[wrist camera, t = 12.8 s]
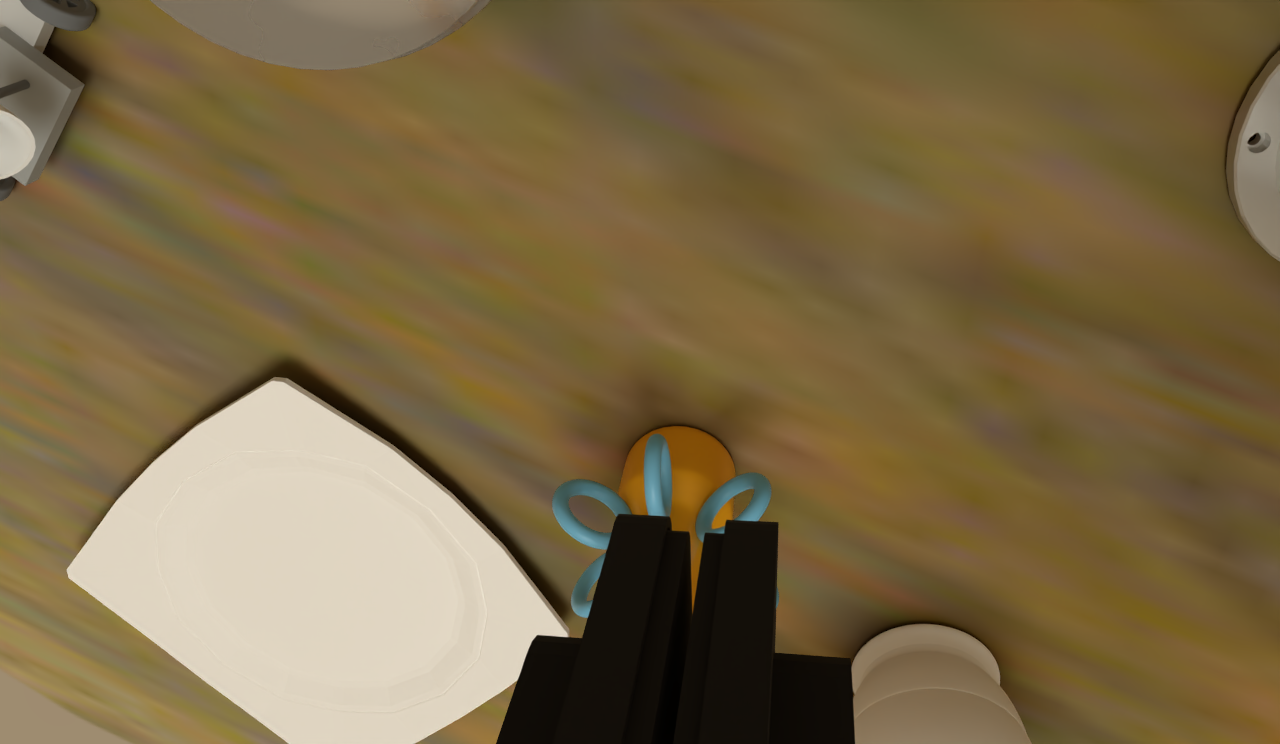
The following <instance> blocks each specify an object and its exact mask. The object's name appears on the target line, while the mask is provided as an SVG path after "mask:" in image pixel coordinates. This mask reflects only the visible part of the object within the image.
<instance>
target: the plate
mask: <svg viewBox="0 0 1280 744" xmlns="http://www.w3.org/2000/svg"><path fill="white" fill-rule="evenodd" d="M67 573H68V577H69V579H71V580H72V581H73V582H75V583H76V584H77V585H79V586H80V587H81V588H83V589H84V590H85V591H87V592H88V593H89V594H91V595H92V596H93V597H95V598H96V599H97V600H99V601H100V602H101V603H103V604H104V605H105V606H107V607H108V608H109V609H111V610H112V611H113V612H115V613H116V614H117V615H119V616H120V617H121V618H123V619H124V620H125V621H127V622H128V623H129V624H131V625H132V626H133V627H135V628H136V629H137V630H139V631H140V632H141V633H143V634H144V635H145V636H147V637H148V638H149V639H151V640H152V641H153V642H155V643H156V644H157V645H158V646H160V647H161V648H162V649H164V650H165V651H166V652H168V653H169V654H170V655H171V656H173V657H174V658H175V659H177V660H178V661H179V662H181V663H182V664H183V665H184V666H186V667H187V668H188V669H190V670H191V671H192V672H194V673H195V674H196V675H197V676H199V677H200V678H201V679H203V680H204V681H205V682H207V683H208V684H209V685H211V686H212V687H213V688H215V689H216V690H218V691H219V692H220V693H222V694H223V695H224V696H226V697H227V698H228V699H230V700H231V701H232V702H234V703H235V704H237V705H238V706H239V707H241V708H242V709H243V710H245V711H246V712H247V713H249V714H250V715H251V716H253V717H254V718H256V719H257V720H258V721H260V722H261V723H262V724H264V725H265V726H266V727H268V728H269V729H270V730H271V731H273V732H274V733H275V734H277V735H278V736H279V737H281V738H282V739H283V740H285V741H286V742H287V743H289V744H414V743H416V742H418V741H420V740H422V739H424V738H426V737H427V736H429V735H431V734H433V733H434V732H436V731H438V730H440V729H441V728H443V727H445V726H447V725H449V724H450V723H452V722H454V721H456V720H457V719H459V718H461V717H463V716H464V715H466V714H467V713H469V712H471V711H472V710H474V709H475V708H477V707H478V706H480V705H481V704H483V703H484V702H486V701H488V700H489V699H491V698H492V697H494V696H495V695H497V694H498V693H500V692H502V691H503V690H505V689H506V688H507V687H509V686H510V685H511V684H513V683H514V682H515V681H517V680H518V678H519V675H520V672H521V669H522V666H523V663H524V660H525V657H526V654H527V652H528V649H529V647H530V645H531V642H532V640H533V639H534V638H535V637H536V636H537V635H545V636H558V637H569V628H568V627H567V626H566V624H565V623H564V622H563V620H562V619H561V618H560V617H559V615H558V614H557V613H556V611H555V610H554V609H553V607H552V606H551V605H550V604H549V602H548V601H547V600H546V598H545V597H544V596H543V595H542V593H541V592H540V591H539V589H538V588H537V587H536V586H535V584H534V583H533V582H532V580H531V579H530V578H529V577H528V575H527V574H526V573H525V571H524V570H523V569H522V567H521V566H520V565H519V564H518V562H517V561H516V560H515V558H514V557H513V556H512V555H511V553H510V552H509V551H508V549H507V548H506V547H505V546H504V544H503V543H502V542H501V541H500V540H499V539H498V538H497V537H496V536H495V535H494V534H493V533H492V532H491V531H490V530H489V529H488V528H487V527H486V526H485V525H484V524H483V523H482V522H481V521H480V520H479V519H477V518H476V517H475V516H474V515H473V514H472V513H471V512H470V511H469V510H468V509H467V508H466V507H465V506H464V505H463V504H462V503H461V502H460V501H459V500H458V499H457V498H456V497H455V496H454V495H453V494H452V493H451V492H450V491H449V490H447V489H446V488H445V487H444V486H443V485H441V484H440V483H439V482H438V481H436V480H435V479H434V478H433V477H432V476H430V475H429V474H428V473H427V472H425V471H424V470H423V469H422V468H421V467H419V466H418V465H417V464H416V463H414V462H413V461H412V460H411V459H410V458H408V457H407V456H406V455H405V454H403V453H402V452H401V451H400V450H399V449H397V448H396V447H395V446H394V445H392V444H391V443H389V442H387V441H386V440H384V439H383V438H381V437H379V436H378V435H376V434H375V433H373V432H372V431H370V430H368V429H367V428H365V427H364V426H362V425H360V424H359V423H357V422H356V421H354V420H353V419H351V418H349V417H348V416H346V415H345V414H343V413H341V412H340V411H338V410H337V409H335V408H334V407H332V406H330V405H329V404H327V403H326V402H324V401H322V400H321V399H319V398H318V397H316V396H315V395H313V394H311V393H310V392H308V391H307V390H305V389H303V388H302V387H300V386H299V385H297V384H296V383H294V382H292V381H291V380H289V379H288V378H280V377H274V378H272V379H270V380H269V381H267V382H265V383H264V384H262V385H261V386H259V387H257V388H256V389H254V390H252V391H251V392H249V393H247V394H246V395H244V396H242V397H241V398H239V399H238V400H236V401H234V402H233V403H231V404H229V405H228V406H226V407H224V408H223V409H221V410H220V411H218V412H216V413H215V414H213V415H211V416H210V417H208V418H206V419H205V420H203V421H201V422H200V423H198V424H197V425H196V426H194V427H193V428H192V429H191V430H190V431H188V432H187V433H186V434H185V435H184V436H182V437H181V438H180V439H179V440H178V441H177V442H175V443H174V444H173V445H172V446H171V447H169V448H168V449H167V450H166V451H165V452H164V453H162V454H161V455H160V456H159V457H158V458H156V459H155V460H154V461H153V462H152V463H151V465H150V466H149V467H148V468H147V469H146V470H145V471H144V472H143V473H142V474H141V475H140V476H139V477H138V478H137V479H136V480H135V481H134V482H133V483H132V485H131V486H130V487H129V488H128V489H127V490H126V491H125V492H124V493H123V494H122V495H121V496H120V497H119V498H118V500H117V501H116V502H115V504H114V505H113V506H112V508H111V509H110V511H109V512H108V513H107V515H106V516H105V517H104V519H103V520H102V522H101V523H100V524H99V526H98V527H97V529H96V530H95V531H94V533H93V534H92V535H91V537H90V538H89V540H88V541H87V542H86V544H85V545H84V547H83V548H82V549H81V551H80V552H79V553H78V555H77V556H76V558H75V559H74V560H73V562H72V563H71V565H70V566H69V567H68V569H67Z"/></svg>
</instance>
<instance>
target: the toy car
mask: <svg viewBox="0 0 1280 744" xmlns="http://www.w3.org/2000/svg"><path fill="white" fill-rule="evenodd" d="M95 14H96V8H95V5H94V4H93V3H92V2H91V1H90V0H0V201H2V200H4V199H6V198H7V197H8V196H9V195H10V193H11V191H12V189H13V187H14V185H15V179H16V180H18V181H19V182H20V183H22V184H23V185H25V186H26V185H28V184H30V183H32V182H34V181H36V180H38V179H39V177H40V175H41V173H42V171H43V169H44V167H45V165H46V163H47V161H48V159H49V157H50V155H51V153H52V151H53V149H54V147H55V145H56V143H57V141H58V139H59V137H60V134H61V132H62V130H63V128H64V126H65V124H66V122H67V120H68V118H69V116H70V114H71V112H72V110H73V108H74V106H75V104H76V102H77V100H78V98H79V96H80V94H81V91H82V89H83V87H84V84H83V83H82V82H80V81H79V80H78V79H76V78H75V77H74V76H72V75H71V74H70V73H68V72H67V71H66V70H64V69H63V68H61V67H60V66H59V65H57V64H56V63H55V62H53V61H52V60H51V59H49V58H48V57H47V56H45V55H44V54H43V51H44V49H45V47H46V45H47V43H48V40H49V38H50V36H51V34H52V32H53V29H54V27H58V28H61V29H65V30H69V31H83V30H85V29H87V28H88V27H89V26H90V25H91V23H92V21H93V18H94V16H95Z"/></svg>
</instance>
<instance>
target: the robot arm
mask: <svg viewBox="0 0 1280 744" xmlns="http://www.w3.org/2000/svg"><path fill="white" fill-rule="evenodd" d="M1255 133H1256V137H1255V139H1254V140H1252V141H1251V142H1248V140H1249V139H1250V137H1251V136H1253V135H1254V134H1255ZM1226 175H1227V183H1228V190H1229V197H1230V199H1231V202H1232V204H1233V207H1234V209H1235V212H1236V214H1237V217H1238V219H1239V221H1240V222H1241V223H1242V225H1243V226H1244V227H1245V229H1246V230H1247V232H1248V233H1249V234H1250V236H1251V237H1252V238H1253V239H1254V240H1255V241H1256V242H1257V243H1258V244H1259V245H1260V246H1261V247H1262V248H1263V249H1264V250H1265V251H1266V252H1267V253H1269V254H1270V255H1271V256H1272V257H1274V258H1275V259H1277V260H1278V261H1280V50H1279V51H1278V52H1277V53H1276V54H1275V55H1274V56H1273V57H1272V58H1271V59H1270V61H1269V62H1268V63H1267V65H1266V66H1265V67H1264V69H1263V70H1262V72H1261V73H1260V74H1259V76H1258V77H1257V79H1256V80H1255V81H1254V83H1253V84H1252V86H1251V87H1250V89H1249V91H1248V93H1247V95H1246V97H1245V99H1244V101H1243V103H1242V105H1241V107H1240V109H1239V111H1238V113H1237V115H1236V118H1235V122H1234V125H1233V129H1232V132H1231V136H1230V139H1229V143H1228V152H1227V164H1226ZM777 558H778V522H760V521H742V520H726V523H725V530H724V533H706V532H705V535H704V540H703V547H702V553H701V560H700V567H699V573H698V580H697V587H696V594H695V600H694V607H693V614H692V581H691V542H690V533H689V531H672V523H671V518H670V517H669V516H652V515H634V514H618V515H617V517H616V520H615V522H614V526H613V530H612V533H611V537H610V540H609V544H608V548H607V551H606V555H605V558H604V562H603V565H602V569H601V573H600V576H599V580H598V583H597V587H596V590H595V594H594V598H593V601H592V605H591V608H590V612H589V616H588V619H587V623H586V626H585V630H584V633H583V637H582V638H571V637H558V636H545V635H537V636H536V637H535V638H534V639H533V640H532V642H531V645H530V647H529V649H528V652H527V654H526V657H525V660H524V663H523V666H522V669H521V672H520V675H519V678H518V681H517V684H516V687H515V690H514V693H513V696H512V698H511V701H510V704H509V707H508V710H507V713H506V716H505V719H504V722H503V725H502V728H501V731H500V734H499V737H498V740H497V743H496V744H855V729H854V708H853V686H852V669H851V661H850V658H837V657H824V656H810V655H797V654H784V653H775V630H776V594H777Z"/></svg>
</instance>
